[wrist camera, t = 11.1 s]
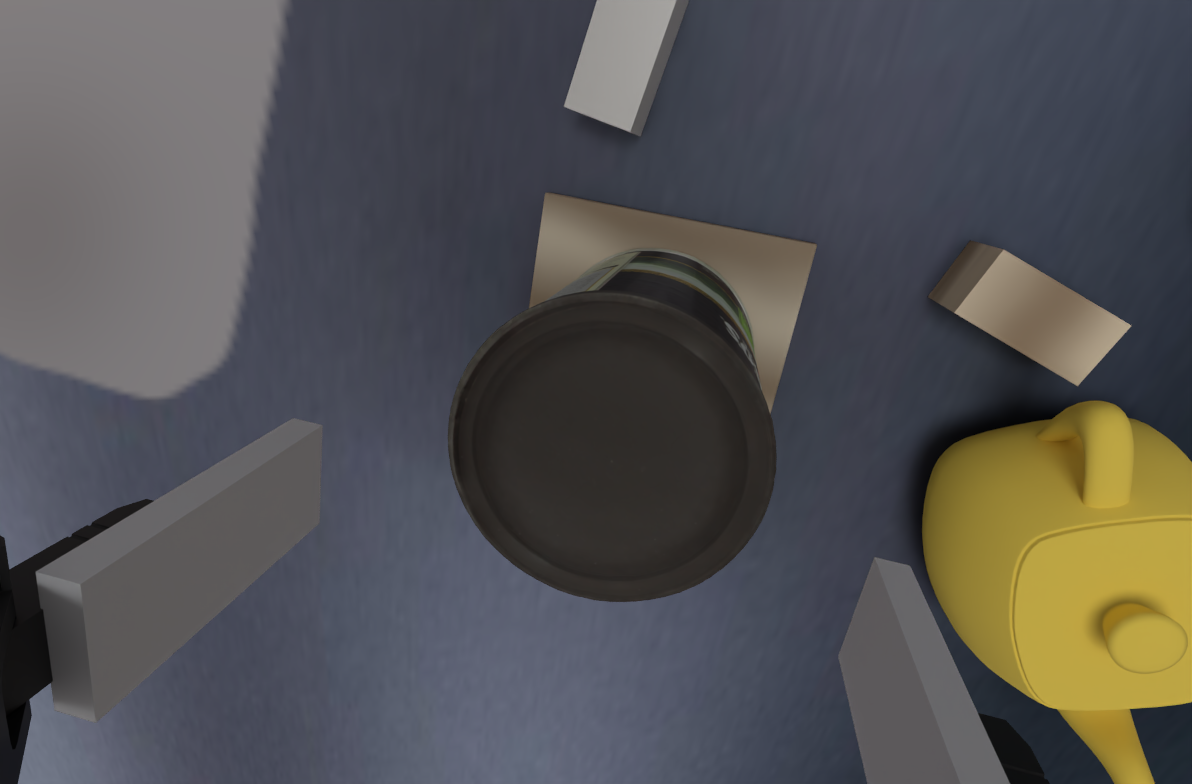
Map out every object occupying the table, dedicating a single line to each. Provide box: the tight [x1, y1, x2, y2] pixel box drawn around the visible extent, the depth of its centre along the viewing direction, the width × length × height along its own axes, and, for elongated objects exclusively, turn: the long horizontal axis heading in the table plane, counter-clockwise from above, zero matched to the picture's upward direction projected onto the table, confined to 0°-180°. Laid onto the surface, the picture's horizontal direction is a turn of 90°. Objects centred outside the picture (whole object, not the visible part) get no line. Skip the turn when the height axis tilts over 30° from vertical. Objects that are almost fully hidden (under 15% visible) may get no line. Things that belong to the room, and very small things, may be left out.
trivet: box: [529, 193, 817, 413], centre depth 35 cm, size 13×13×1 cm
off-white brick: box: [564, 0, 689, 137], centre depth 29 cm, size 6×3×4 cm, turn 160°
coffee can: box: [448, 248, 776, 602], centre depth 28 cm, size 10×10×14 cm
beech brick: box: [928, 240, 1131, 386], centre depth 30 cm, size 6×3×4 cm, turn 61°
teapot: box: [922, 401, 1192, 784], centre depth 29 cm, size 18×11×11 cm, turn 14°
